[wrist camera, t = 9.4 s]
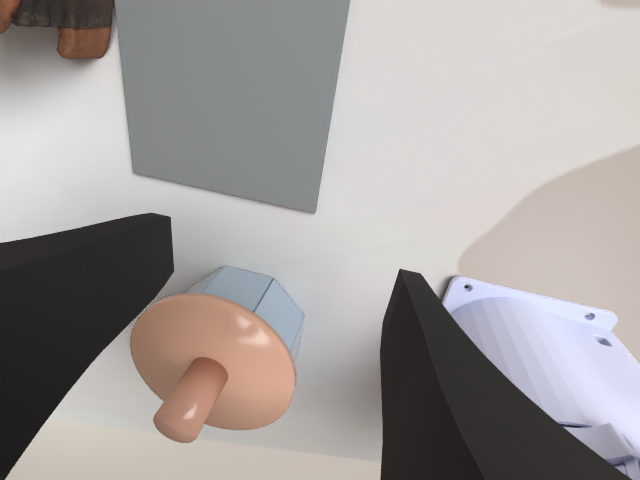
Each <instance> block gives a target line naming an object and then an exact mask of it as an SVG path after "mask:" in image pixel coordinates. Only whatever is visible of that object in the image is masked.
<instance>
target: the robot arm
mask: <svg viewBox="0 0 640 480" xmlns="http://www.w3.org/2000/svg"><path fill="white" fill-rule="evenodd" d="M173 272H174V263H173V247H172V232H171V217H168V216H164V215H159V214H155V213H147V214H140V215H134V216H129V217H125V218H120V219H116V220H111V221H107V222H103V223H98V224H94V225H90V226H85V227H81V228H77V229H72V230H67V231H62V232H57V233H52V234H48V235H43V236H38V237H33V238H28V239H22V240H16V241H10V242H4V243H0V480H5V478H6V477H7V475H8V474H9V472H10V471H11V469H12V468H13V466H14V465H15V464H16V462H17V461H18V459H19V458H20V457H21V455H22V454H23V452H24V451H25V450H26V448H27V447H28V445H29V444H30V442H31V441H32V439H33V438H34V437H35V435H36V434H37V433H38V431H39V430H40V428H41V427H42V426H43V424H44V423H45V421H46V420H47V419H48V418H49V416H50V415H51V414H52V412H53V411H54V410H55V408H56V407H57V406H58V404H59V403H60V402H61V401H62V399H63V398H64V397H65V395H66V394H67V393H68V391H69V390H70V389H71V388H72V386H73V385H74V384H75V383H76V382H77V380H78V379H79V378H80V377H81V375H82V374H83V373H84V372H85V370H86V369H87V368H88V367H89V365H90V364H91V363H92V362H93V361H94V360H95V359H96V357H97V356H98V355H99V354H100V353H101V352H102V351H103V350H104V349H105V348H106V347H107V346H108V345H109V344H110V343H111V342H112V341H113V340H114V339H115V338H116V337H117V336H118V335H119V334H120V333H121V332H122V331H123V330H124V329H125V328H126V327H127V326H128V325H129V324H130V323H131V321H132V320H133V319H134V318H135V317H136V316H137V315H138V314H139V313H140V312H141V311H142V310H143V309H144V308H145V307H146V306H147V305H148V304H149V303H150V302H151V301H152V300H153V299H154V298H155V297H156V296H157V294H158V293H159V292H160V290H161V289H162V288H163V286H164V285H165V284H166V282H167V281H168V279H169V278H170V276H171V275H172V274H173ZM467 284H470V285H471V286H470V287H469V288H464V286H465V285H467ZM588 313H591V314H590V315H588V316H585V315H586V314H588ZM617 321H618V318H617V316H616V315H615V314H614V313H613V312H612V311H609V310H605V309H600V308H596V307H591V306H587V305H583V304H579V303H574V302H570V301H566V300H562V299H557V298H553V297H549V296H544V295H540V294H536V293H531V292H527V291H523V290H518V289H514V288H510V287H505V286H501V285H497V284H493V283H488V282H484V281H479V280H475V279H471V278H467V277H462V276H457V277H454V278H452V280H451V281H450V284H449V286H448V289H447V291H446V293H445V296H444V298H443V301H442V303H441V301H440V300H439V298H438V297H437V296H436V294H435V293H434V291H433V290H432V289H431V287H430V286H429V284H428V283H427V282H426V280H425V279H424V277H423V276H422V275H421V274H420V273H416V272H411V271H407V270H403V269H399V273H398V276H397V279H396V282H395V285H394V288H393V291H392V295H391V298H390V301H389V304H388V307H387V310H386V313H385V316H384V320H383V325H382V335H381V347H380V364H381V391H382V417H383V446H382V463H381V480H640V364H639V363H638V362H637V361H636V360H635V358H634V357H633V356H632V355H631V354H630V352H629V351H628V350H627V349H626V348H625V347H624V346H623V344H622V343H621V342H620V341H619V340H618V338H617V337H616V336H615V335H614V334H613V333H612V331H611V330H612V328H613V327H614V325H615V324H616V323H617Z"/></svg>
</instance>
